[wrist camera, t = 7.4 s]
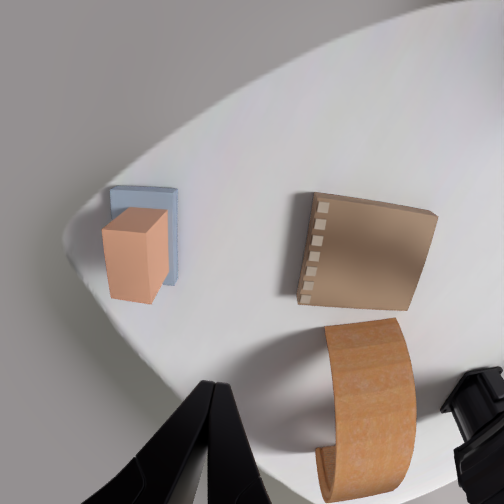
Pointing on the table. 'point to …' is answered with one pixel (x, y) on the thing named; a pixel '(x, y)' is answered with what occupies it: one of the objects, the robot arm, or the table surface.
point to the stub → (141, 242)
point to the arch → (368, 411)
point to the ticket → (363, 253)
